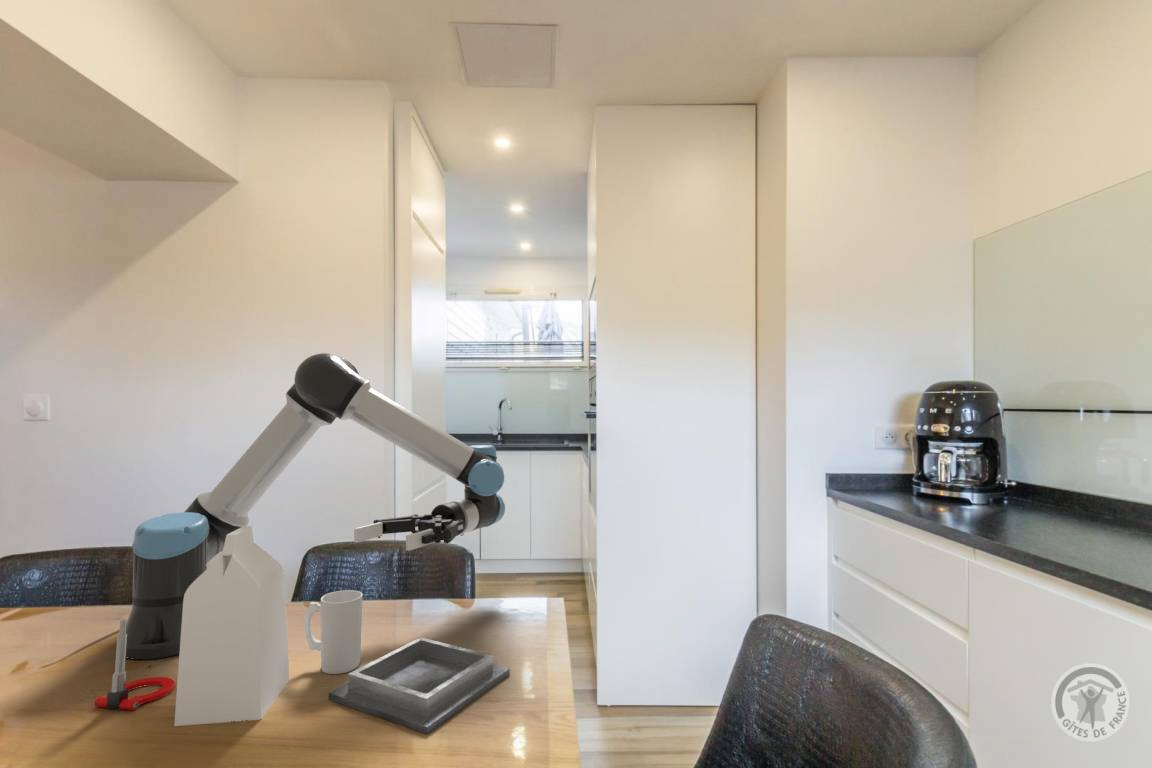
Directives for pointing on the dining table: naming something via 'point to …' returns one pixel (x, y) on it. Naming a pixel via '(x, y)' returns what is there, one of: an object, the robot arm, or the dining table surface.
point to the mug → (337, 630)
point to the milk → (233, 636)
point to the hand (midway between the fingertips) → (380, 539)
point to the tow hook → (120, 690)
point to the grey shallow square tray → (420, 683)
